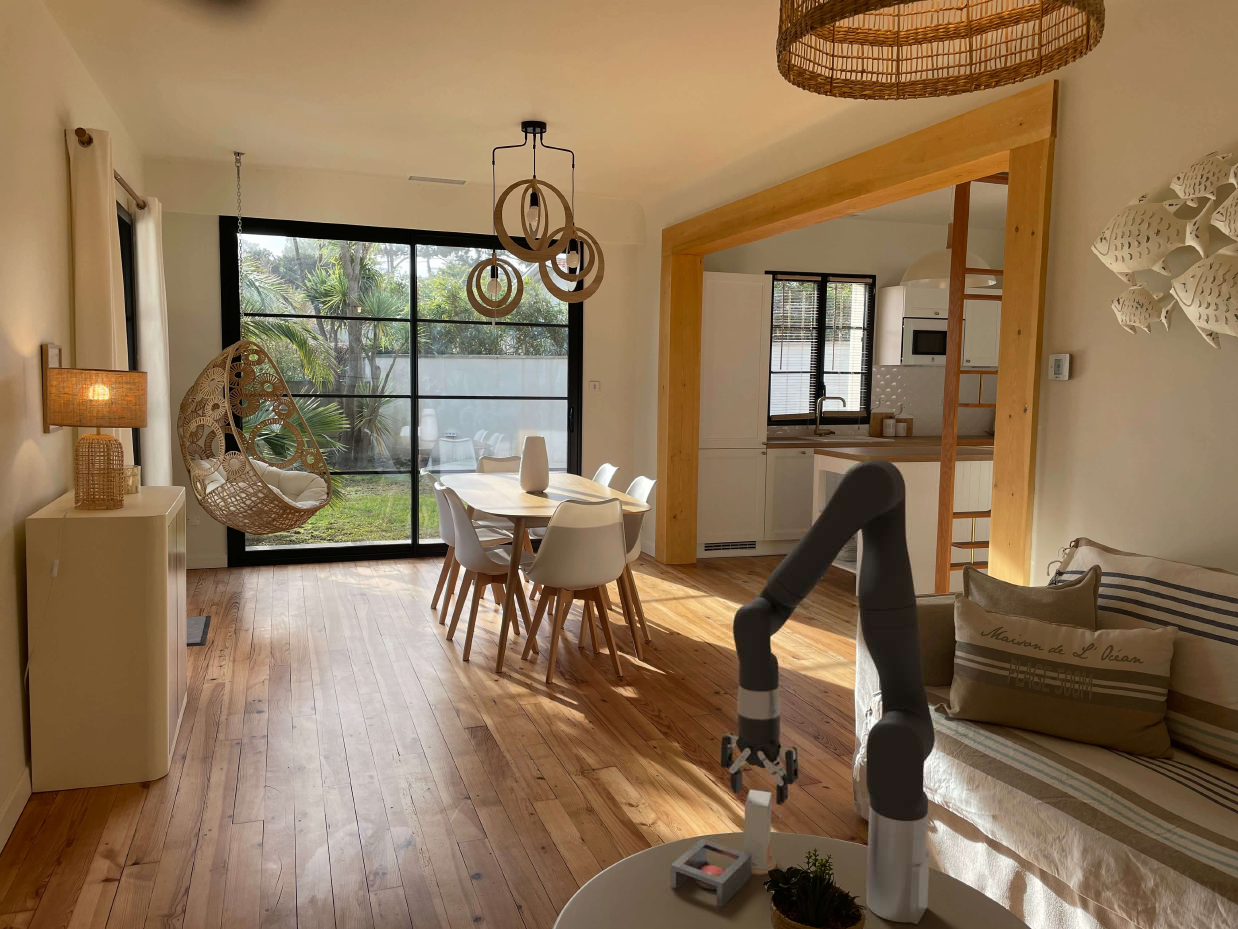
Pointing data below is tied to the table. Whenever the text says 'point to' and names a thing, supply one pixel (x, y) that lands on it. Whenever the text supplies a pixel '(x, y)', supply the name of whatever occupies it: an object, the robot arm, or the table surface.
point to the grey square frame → (725, 882)
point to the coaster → (770, 865)
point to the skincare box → (758, 828)
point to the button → (712, 870)
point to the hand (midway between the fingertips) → (758, 797)
